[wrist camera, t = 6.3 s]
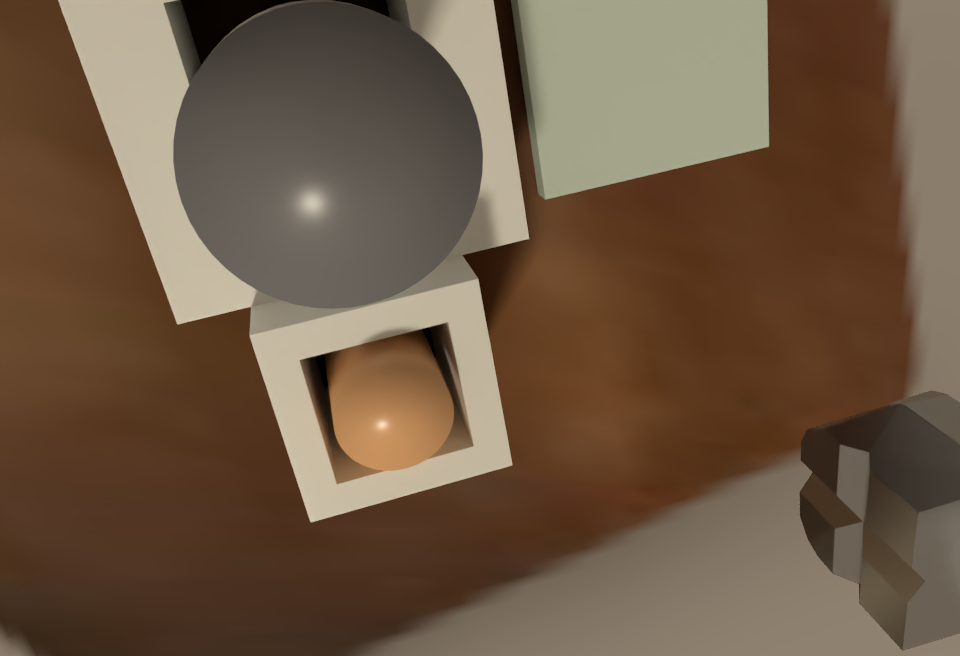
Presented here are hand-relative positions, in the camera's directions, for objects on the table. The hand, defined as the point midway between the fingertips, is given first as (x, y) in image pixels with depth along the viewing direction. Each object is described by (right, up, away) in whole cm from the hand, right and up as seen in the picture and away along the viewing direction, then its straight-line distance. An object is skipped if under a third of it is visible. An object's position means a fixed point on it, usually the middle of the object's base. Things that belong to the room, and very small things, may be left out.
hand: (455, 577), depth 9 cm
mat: (+5, +13, +17) cm, 22 cm away
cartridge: (-5, +10, +16) cm, 19 cm away
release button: (-3, +2, +16) cm, 17 cm away
